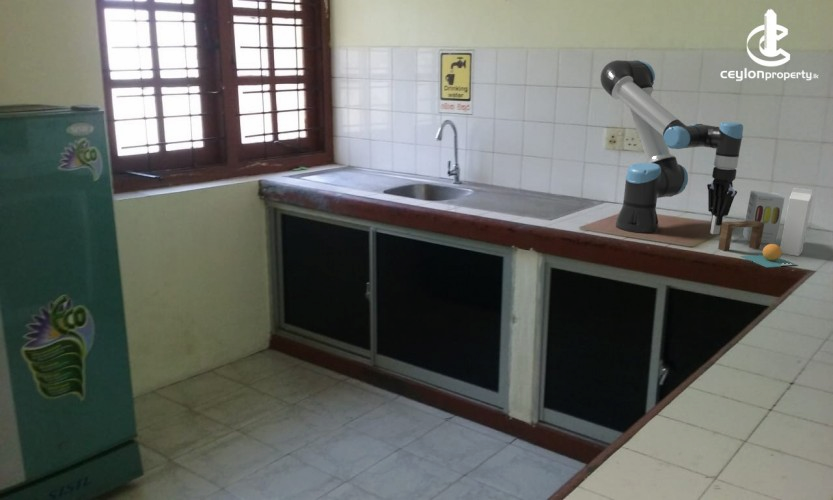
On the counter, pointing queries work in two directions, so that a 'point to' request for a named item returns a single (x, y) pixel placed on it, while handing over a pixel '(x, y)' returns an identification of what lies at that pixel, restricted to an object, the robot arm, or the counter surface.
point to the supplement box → (764, 214)
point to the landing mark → (766, 261)
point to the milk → (796, 221)
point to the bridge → (728, 227)
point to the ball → (772, 252)
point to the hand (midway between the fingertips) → (714, 233)
